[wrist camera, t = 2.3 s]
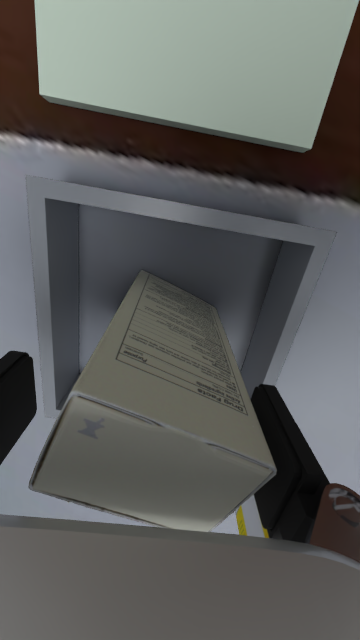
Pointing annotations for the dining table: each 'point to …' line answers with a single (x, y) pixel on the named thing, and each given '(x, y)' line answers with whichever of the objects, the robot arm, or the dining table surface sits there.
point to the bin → (63, 226)
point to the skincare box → (158, 419)
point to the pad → (197, 62)
